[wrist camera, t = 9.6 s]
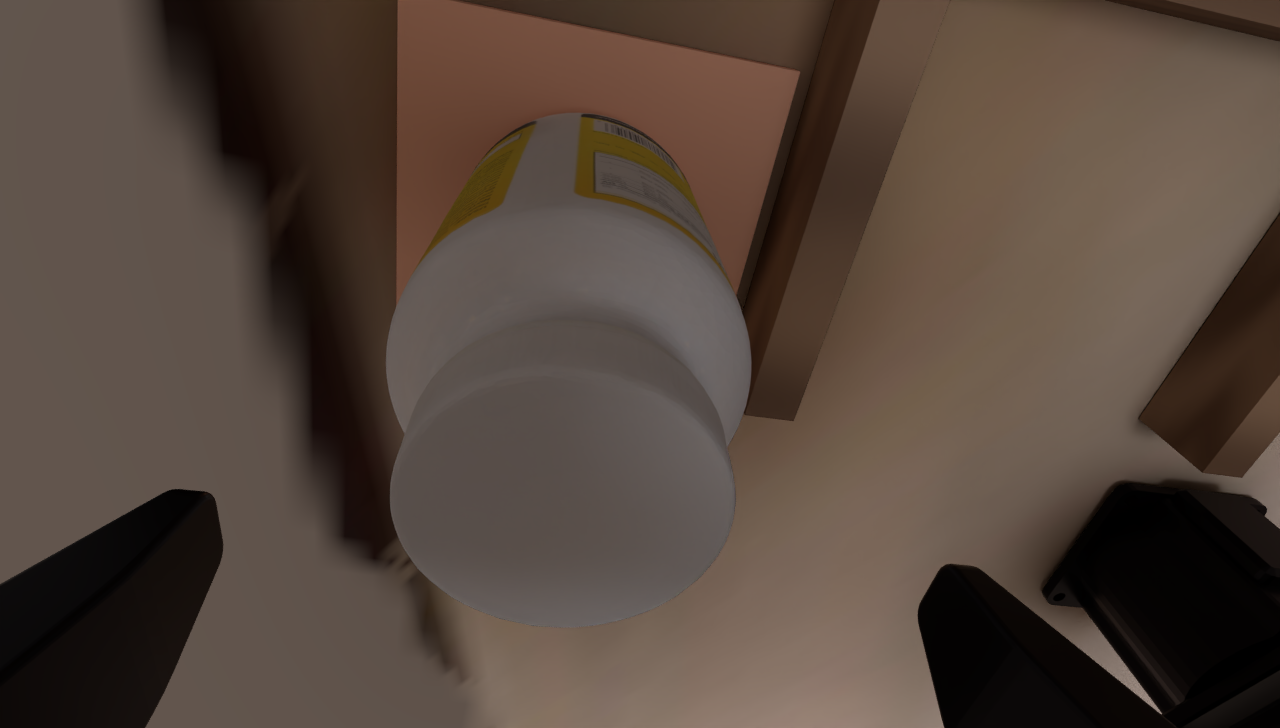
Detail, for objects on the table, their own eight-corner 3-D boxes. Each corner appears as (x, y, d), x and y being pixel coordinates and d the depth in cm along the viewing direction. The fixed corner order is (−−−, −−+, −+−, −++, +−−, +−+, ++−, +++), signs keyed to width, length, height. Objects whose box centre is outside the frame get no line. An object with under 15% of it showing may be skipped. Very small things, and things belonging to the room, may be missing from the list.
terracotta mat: (706, 385, 23) (708, 393, 22) (400, 345, 21) (396, 353, 21) (795, 68, 18) (800, 71, 17) (402, -11, 16) (397, -11, 16)
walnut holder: (1174, 423, 25) (1241, 477, 22) (727, 362, 22) (744, 414, 20) (1470, 16, 18) (1617, 25, 15) (874, -135, 15) (930, -154, 13)
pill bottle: (455, 305, 20) (311, 646, 10) (478, 79, 17) (301, 249, 7) (665, 343, 21) (723, 686, 11) (725, 136, 18) (880, 357, 8)
